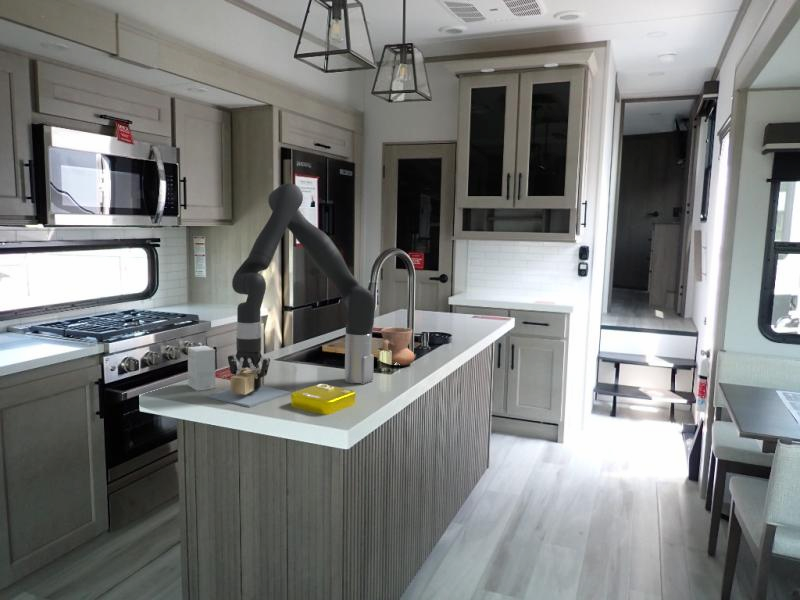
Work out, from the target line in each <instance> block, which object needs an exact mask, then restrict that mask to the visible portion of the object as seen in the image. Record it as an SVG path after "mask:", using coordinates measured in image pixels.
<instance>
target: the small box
mask: <svg viewBox="0 0 800 600" xmlns="http://www.w3.org/2000/svg"><path fill="white" fill-rule="evenodd" d="M187 385H188V386H189V387H190V388H191V389H193V390H195V391H197V392H199V391H200V392H201V391H205V390H212V389H216V349H215V348H212V347H210V346H207V345H198V346H189V347H187Z"/></svg>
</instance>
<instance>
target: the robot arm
mask: <svg viewBox="0 0 800 600" xmlns="http://www.w3.org/2000/svg"><path fill="white" fill-rule="evenodd" d="M303 198H304V196H303V192H302V190H301V188H300V187H299V186H298V185H296V184H294V183H291V182H290V183H289V182H288V183H284V184H281V185H280V186H278V187H276V189H274V190H272V191H271V192H270V193H269V196H268V206H269V208H270V209H271V211H272V213H271V214H270V217H269V218H268V220H267V222H266V223H265V225H264V227H263V229H262V230H261V231H260V233H259V234H258V236H257V237H256V239H255V241H254V243H253V244H252V245H253V246H252V248H251V250H250V253H249V255H248V257H247V258H246V259H244V261H243V263H242V264H241V265H240V266H239V268H238V269H237V270H236V271H235V273H234V274H233V277H232V282H231V285H232V290H233V291H234V292H235V293H236V294H240V295H245V296H247V297H246V301H244V302H241V303H239V304H238V305H237V308H236V311H237V312H236V313H237V317H236V320H237V321H236V322H237V323H236V332H235V334H236V336H235V337H236V346H235V347H236V354H230V355H229V356H227V362H228V366H229V369H230V374H231V375H233V376H234V375H236V374H239V373H241V372H244V371H246V370H247V369H250V368H251V371H252V372H253V374H254V377H255V379H254V390H258V389H259V388H260V387H261V377H264V378H265V377H266V376H267V375H268V371H269V367H270V363H271V358H270V357H263V356H262V353H261V351H262V324H261V308H262V305H263V301H264V298H265V297H264V296H265V294H266V289H267V283H266V282H267V281H266V279H265V277H264V276H263V275H262V274H261V273H259V272H262V271H266V270H268V268H269V267H270V265H271V263H272V260H273V258H274V256H275V254H276V252H277V249H278V247H279V244H280V242H281V240H282V238H283V235H284V233H285V232H286V230H287V229H288V230H289V232H291V233H292V235H293V236H294V238H295V239H296V240H297V242H298V243H299V245H301V247H302V249H303V250H304V251H305V252H306V254H307V255H308V257H309V258H310V259H311V261H312V262H313V263H314V265H315V266H316V267H317V268H318V269H319V270H320V272H321V273H322V274H323V275H324V276H325V277H326V278H327V279H328V280H329V281H330V282H331V283H332V284H333V286H334V288H335V289H336V291H337V292H338V293H339V295H340V297H341V298H342V300H343V302H344V304H345V306H346V307H347V323H346V325H345V341H344V342H345V345H344V347H345V351H344V354H345V355H344V381H345V383H348V382H349V383H348V384H353V383H361V384H360V385H365V383H366V384H368V383H371V382H373V381H374V366H375V365H374V363H375V362H374V359H375V358H374V357H375V355H374V354H373V353H372V348H373V347H372V346H373V345H372V343H373V328H374V324H375V307H376V306H375V303H376V302H375V296H374V294H373V293H372V291H370V290H369V289H367V288H365V287H364V286H363V285H362V284H361V283H360V282H359V281H358V280H357V278H355V276H354V275H353V274H352V273H351V271H350V269H349V267H348V265H347V263H346V261H345V259H344V258H343V255H342V254H341V251H339V249H338V247H337V246H336V244H335V243H334V242H333V240H332V239H331V238H330V237H329V236H328V235H327V234H326V233H325V232H324V231H323V230H321V229H319V228H318V227H317V226H316V225H313V224H312V222H310V221H308V219H307V218H306V217H305V216H304V215H303V213H302V212H301V211H300V207H301V206H302V203H303V201H304V200H303ZM237 362H238V364H237ZM260 364H261V367H260ZM246 368H247V369H246ZM260 370H261V371H260ZM372 380H373V381H372ZM370 381H371V382H370ZM367 382H368V383H367Z"/></svg>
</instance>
